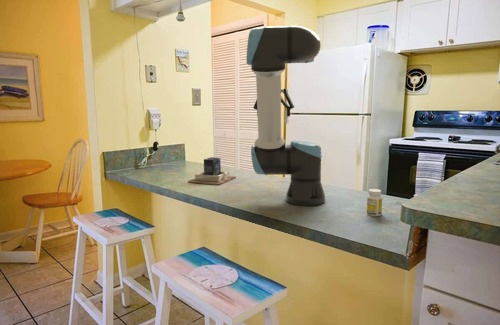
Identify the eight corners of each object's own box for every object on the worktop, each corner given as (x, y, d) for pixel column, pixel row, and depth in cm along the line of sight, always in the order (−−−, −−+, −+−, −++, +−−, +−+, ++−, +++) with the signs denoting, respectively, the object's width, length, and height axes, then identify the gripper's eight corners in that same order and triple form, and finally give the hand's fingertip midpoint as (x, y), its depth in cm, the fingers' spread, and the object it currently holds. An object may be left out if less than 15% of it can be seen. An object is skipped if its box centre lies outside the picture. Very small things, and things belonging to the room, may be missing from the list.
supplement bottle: (378, 211, 116) (379, 188, 115) (383, 216, 111) (385, 191, 110) (364, 212, 116) (365, 188, 114) (369, 216, 111) (370, 192, 110)
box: (213, 180, 166) (212, 159, 164) (204, 179, 168) (203, 159, 167) (221, 177, 173) (220, 157, 171) (212, 176, 175) (211, 156, 174)
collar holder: (219, 185, 159) (219, 178, 159) (187, 182, 166) (187, 175, 166) (235, 177, 175) (235, 171, 175) (206, 175, 183) (206, 169, 182)
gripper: (300, 78, 158) (300, 123, 162) (252, 80, 168) (253, 123, 172) (296, 77, 151) (295, 123, 155) (246, 79, 161) (247, 123, 165)
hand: (273, 123), depth 163 cm, fingers open, 13 cm apart
